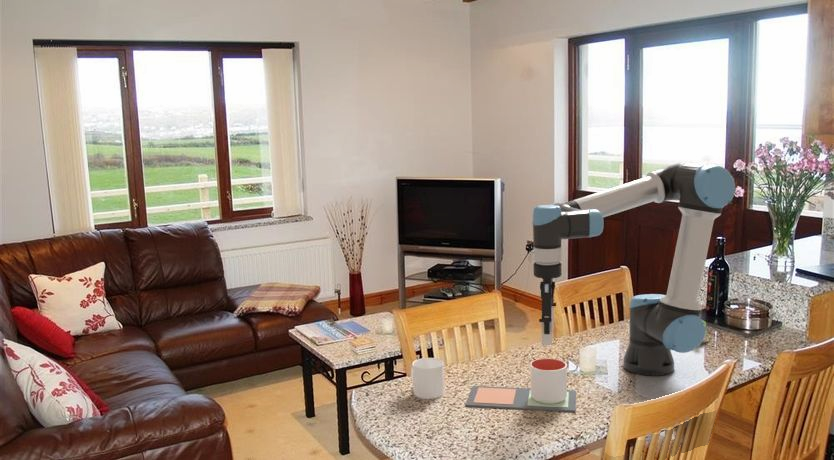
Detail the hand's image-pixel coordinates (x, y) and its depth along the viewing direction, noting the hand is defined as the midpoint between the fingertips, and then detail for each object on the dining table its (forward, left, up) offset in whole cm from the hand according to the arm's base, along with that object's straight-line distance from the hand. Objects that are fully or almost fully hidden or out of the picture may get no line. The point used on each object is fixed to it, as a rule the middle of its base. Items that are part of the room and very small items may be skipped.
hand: (548, 337), depth 202 cm
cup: (0, 0, -18) cm, 18 cm away
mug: (+36, -2, -19) cm, 40 cm away
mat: (+8, 0, -19) cm, 20 cm away
